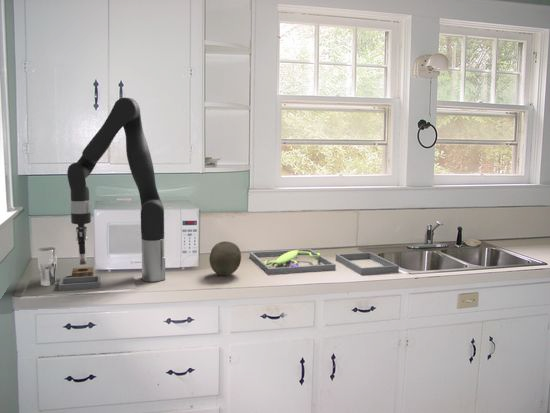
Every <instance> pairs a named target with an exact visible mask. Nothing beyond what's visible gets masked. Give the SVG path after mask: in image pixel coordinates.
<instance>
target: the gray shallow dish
mask: <svg viewBox="0 0 550 413" xmlns="http://www.w3.org/2000/svg"><path fill="white" fill-rule="evenodd" d="M368 259H369V260H372V261H373V262H375V261H376V262H375V263H377V262H378V263H377V264H379V263H380V264H379V265H380V266H368V267H362V266H360V265H358V264H356V263H354V262H352V260H353V261H354V260H368ZM335 261H336V262H338V263H339V264H341V265H343V266H345V267H346V268H348V269H350V270H351V271H353V272H355V273H357V274H358V275H360V276H364V275H365V276H367V275H378V274H379V273H382V274H391V273H390V272H396V273H399V272H398V271H400V265H398V264H396V263H395V262H392V261H390V260H388V259H385V258H383V257H381V256H379V255H377V254H375V253H373V252H371V251H367V252H352V253H351V252H350V253H337V254H335ZM381 264H382V265H381ZM383 265H384V266H383Z"/></svg>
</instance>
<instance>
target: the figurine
mask: <svg viewBox="0 0 550 413" xmlns="http://www.w3.org/2000/svg"><path fill="white" fill-rule="evenodd" d="M294 250H295V251H290V252H287V253H285V254H283V255H282V256H278V258H276V259H274V260H269V258H267V259H266V260H265V261H263V262H264V263H265V264H266V265H267V266H269V265H273V264H274V263H275V264H276V265H278V267H279V266H281V265H282V266H283V267H286V265H287V264H286V263H289V264H288V267H297V266H300V264H299V263H298V261H296V260H293V259H295V257H297V256H298V255H297V254H305V255H308V256H309V258H311V259H312V258H314V259H315V258H317V257H320V255H321V253H320V252H316V253H317V256H314V255H311V252H304V251H299V250H300V249H294Z"/></svg>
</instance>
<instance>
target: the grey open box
mask: <svg viewBox="0 0 550 413" xmlns="http://www.w3.org/2000/svg"><path fill="white" fill-rule="evenodd" d="M295 250H296V249H286V250H269V251H268V250H267V251H251V252H249V258H250V259H251V260H252V261H253V262H254V263H256V264H257V265H258V267H260V268H261V269H262V270H263V271H264V272H265V273H267V275H277V274H278V275H280V274H294V273H309V272H322V271H323V272H324V271H336V266H337V265H336V263H334V262H332V261H331V260H329V259H328V258H326V257H325V256H322V255H321V254H320V257H317V258H314V259H315V260H317V261H319V263H321V264H317V265H301V266H300V265H299V266H297V267H289V266H287V267H286V266H283V267H270V266H269V265H266V264H265V263H264V262H265V261H262V259H260V258H266V257H267V258H268V257H270V258H271V257H280V256H282V255H283V254H285V253H287V252H290V251H295ZM298 250H299V251H304V252H311V255H314V256H317V253H318V252H316V251H314V250H312V249H311V248H305V249H301V248H300V249H298ZM300 255H304V256H305V255H306V254H297V256H300Z"/></svg>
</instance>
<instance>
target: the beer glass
mask: <svg viewBox="0 0 550 413" xmlns="http://www.w3.org/2000/svg"><path fill="white" fill-rule="evenodd" d="M37 265H38V266H37V267H38V270H39V274H40V286H42V287H43V286H45V287H47V286H53V285H56V284H57V279H56V272H57V265H58V255H57V248H56V247H54V246H46V247H45V246H44V247H40V248H38V249H37Z"/></svg>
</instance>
